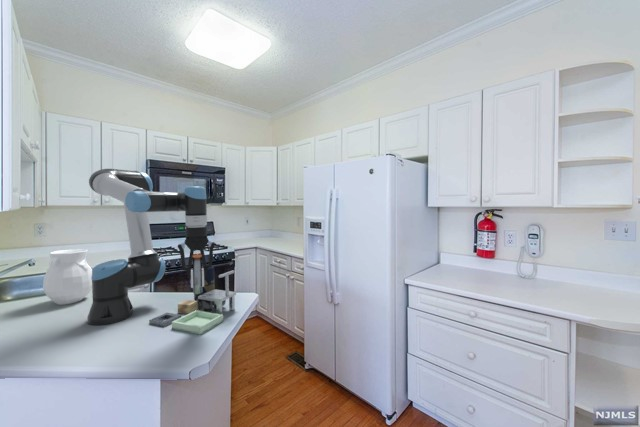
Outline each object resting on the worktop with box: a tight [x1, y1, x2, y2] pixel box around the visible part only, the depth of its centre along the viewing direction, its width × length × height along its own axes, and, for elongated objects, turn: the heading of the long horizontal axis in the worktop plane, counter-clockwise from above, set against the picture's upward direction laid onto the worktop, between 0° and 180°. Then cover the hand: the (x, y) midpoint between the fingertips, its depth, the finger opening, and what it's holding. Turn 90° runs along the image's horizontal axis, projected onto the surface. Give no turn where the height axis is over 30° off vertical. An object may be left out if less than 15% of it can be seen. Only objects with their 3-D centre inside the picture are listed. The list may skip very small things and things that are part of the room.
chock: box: [177, 299, 198, 314], centre depth 118 cm, size 6×5×4 cm
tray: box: [171, 309, 224, 336], centre depth 104 cm, size 14×12×3 cm
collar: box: [148, 312, 182, 328], centre depth 107 cm, size 8×8×2 cm
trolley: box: [197, 269, 237, 315], centre depth 117 cm, size 12×10×18 cm
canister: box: [193, 264, 216, 303], centre depth 131 cm, size 10×10×18 cm
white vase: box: [42, 248, 93, 306], centre depth 130 cm, size 19×18×25 cm
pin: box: [192, 252, 203, 295], centre depth 103 cm, size 4×4×15 cm
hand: (197, 286), depth 103 cm, fingers closed on pin, 3 cm apart
